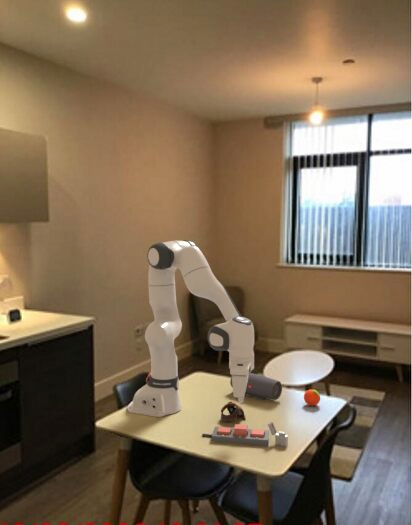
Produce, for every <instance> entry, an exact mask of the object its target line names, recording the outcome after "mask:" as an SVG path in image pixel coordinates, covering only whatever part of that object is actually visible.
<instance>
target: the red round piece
mask: <svg viewBox="0 0 412 525" xmlns="http://www.w3.org/2000/svg"><path fill="white" fill-rule="evenodd" d="M303 399H304V403H306V404H307V405H308V406H311V407H312V406H313V407H315V406H318V404H319V403H320V401H321V395H320V393H319V392H318V391H317V390H316V389H315V388H314V389H313V388H312V389H308V390H306V391H305V392H304V395H303Z"/></svg>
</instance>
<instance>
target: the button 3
mask: <svg viewBox="0 0 412 525" xmlns="http://www.w3.org/2000/svg"><path fill="white" fill-rule="evenodd" d="M251 429H252V431H251V437H264V429H255V430H253V429H254V428H251Z"/></svg>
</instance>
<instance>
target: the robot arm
mask: <svg viewBox="0 0 412 525" xmlns="http://www.w3.org/2000/svg"><path fill="white" fill-rule="evenodd" d="M146 258H147V261H148V263H149V266H148V275H147V276H148V278H147V279H148V281H147V282H148V299H149V300H148V302H149V305H150V306H151V310H152V313H153V316H154V321H152V322H150V323H149V324H148V326H147V328H146V329H145V332H144V339H145V342H146V344H148V345H147V346H148V350H149V355H150V373H148V374H147V377H146V378H145V382H146V384H145V385H143V386H142V387H141V388H139V389H138V390H137V391H135V393H134V396H133V398H132V401H131V402H130V403H129V404H128V405H127V412H128V413H131V414H137V415H138V414H139V415H145V416H151V417H157V418H161V417H164V416H167V415H172V414H176V413H178V412H179V411H181V410H182V405H181V400H180V395H179V388H180V379H179V374H178V368H179V367H178V355H177V353H176V349H175V339H176V338H177V337H179V336H180V333H181V332H182V327H183V322H182V321H181V320H182V319H181V317H180V313H179V310H178V305H177V296H176V294H177V292H176V279H175V278H176V277H175V273H176V271H177V269H178V270H179V271H180V273H181V276H182V278H183V282H184V284H185V287H186V288H187V290H188V291H189V293H191V294H192V295H193V296H196V297H198V298H203V299H206V300H209V301H211V302H213V303H214V304H215V305H216V306H217V308H218V309H219V311H220V313H221V314H222V316H223V318H224V319H225V321H226V322H223V323H219V324H215V325H213V326H211V327H210V328H209V330H208V332H207V341H208V344H209V345H210V346H209V347H210V348H212V349H213V350H214V351H218V352H223V351H227V352H228V353H229V355H228V356H229V357H228V359H229V360H228V361H229V362H228V368H229V374H230V375H231V377H232V386H233V388H232V393H233V394H232V395H233V397H234V398H237V399H238V403H241V404H242V403H244V401H245V396H246V394H245V391H246V387H247V383H248V377H249V374H250V373H252V371H253V370H255V351H254V346H255V329H254V328H255V327H254V323H253V321H252V320H251V319H249V318H247V317H244V316H242V315H241V313H240V311H239V309H238V307H237V306H236V303H235V302H234V301H233V299H232V297H231V295H230V294H229V292H228V290H227V289H226V287H225V286H224V285H223V284H222V283H221V282H220V281H219V280H218V279H217V277H216V276H215V274H214V273H213V271H212V268H211V267H210V264H209V262H208V260H207V258H206V257H205V255H204V254H203V252H202V250H200V248H199V247H198V246H197V245H196V244H195V242H192V241H191V240H185V239H184V240H170V241H165V242H164V241H163V242H156V243H154V244H152V245H150V247H148V250H147V256H146Z"/></svg>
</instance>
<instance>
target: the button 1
mask: <svg viewBox="0 0 412 525" xmlns="http://www.w3.org/2000/svg"><path fill="white" fill-rule="evenodd" d="M218 427H219V428H218V434H224V435H231V428H232V427H228V428H225V427H226V426H218Z"/></svg>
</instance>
